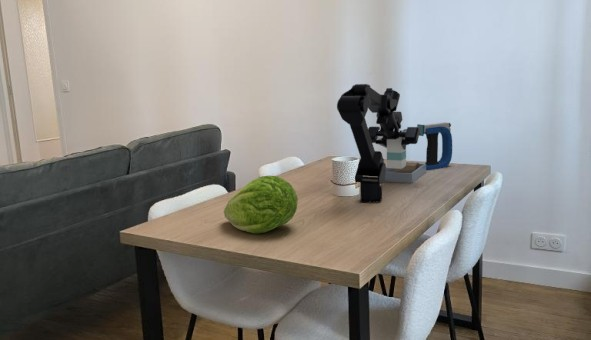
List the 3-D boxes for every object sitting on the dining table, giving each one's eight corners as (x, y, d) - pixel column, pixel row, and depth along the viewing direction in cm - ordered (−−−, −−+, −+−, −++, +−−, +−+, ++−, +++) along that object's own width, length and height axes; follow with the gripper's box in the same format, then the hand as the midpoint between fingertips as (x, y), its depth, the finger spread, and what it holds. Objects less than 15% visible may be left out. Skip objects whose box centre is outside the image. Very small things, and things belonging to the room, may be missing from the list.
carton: (401, 168, 185) (401, 136, 183) (386, 168, 188) (386, 135, 186) (406, 165, 190) (405, 134, 188) (391, 165, 193) (391, 133, 191)
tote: (412, 184, 185) (412, 173, 184) (378, 182, 191) (378, 171, 191) (426, 173, 202) (426, 163, 202) (394, 171, 209) (394, 162, 208)
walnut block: (414, 175, 197) (414, 165, 196) (394, 174, 201) (394, 164, 200) (419, 172, 202) (418, 162, 201) (399, 171, 206) (399, 161, 205)
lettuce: (213, 243, 143) (252, 232, 155) (276, 230, 127) (314, 219, 139) (201, 192, 144) (241, 185, 156) (263, 172, 128) (302, 167, 141)
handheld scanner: (415, 170, 209) (415, 124, 205) (445, 166, 215) (446, 120, 211) (422, 172, 205) (422, 125, 201) (452, 167, 211) (453, 121, 207)
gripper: (418, 104, 177) (426, 131, 188) (367, 104, 186) (378, 131, 197) (412, 129, 172) (420, 156, 183) (360, 128, 180) (371, 154, 192)
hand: (397, 148), depth 189 cm, fingers closed on carton, 5 cm apart
